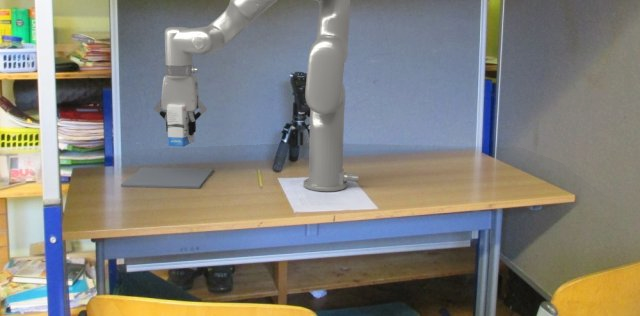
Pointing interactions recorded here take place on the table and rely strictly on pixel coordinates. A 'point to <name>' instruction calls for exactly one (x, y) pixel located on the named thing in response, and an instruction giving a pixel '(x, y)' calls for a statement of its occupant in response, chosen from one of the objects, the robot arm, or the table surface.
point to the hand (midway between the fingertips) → (181, 133)
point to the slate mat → (168, 178)
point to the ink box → (178, 126)
